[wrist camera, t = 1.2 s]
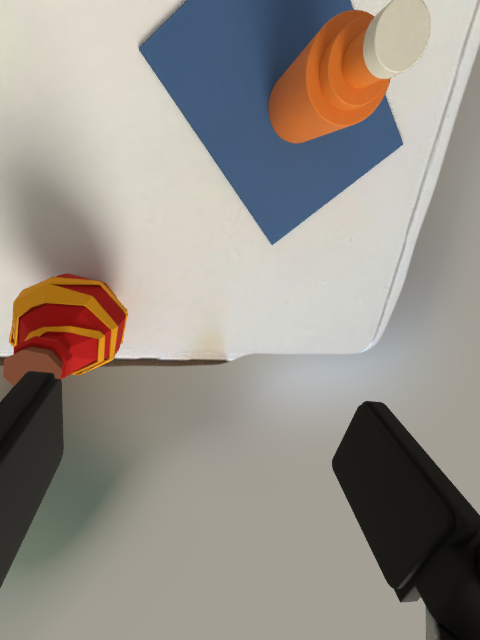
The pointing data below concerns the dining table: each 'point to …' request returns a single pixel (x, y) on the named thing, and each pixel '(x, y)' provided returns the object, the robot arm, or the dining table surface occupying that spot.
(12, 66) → the dining table surface
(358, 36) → the bottle
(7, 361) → the potion bottle
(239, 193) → the cloth
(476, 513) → the robot arm
